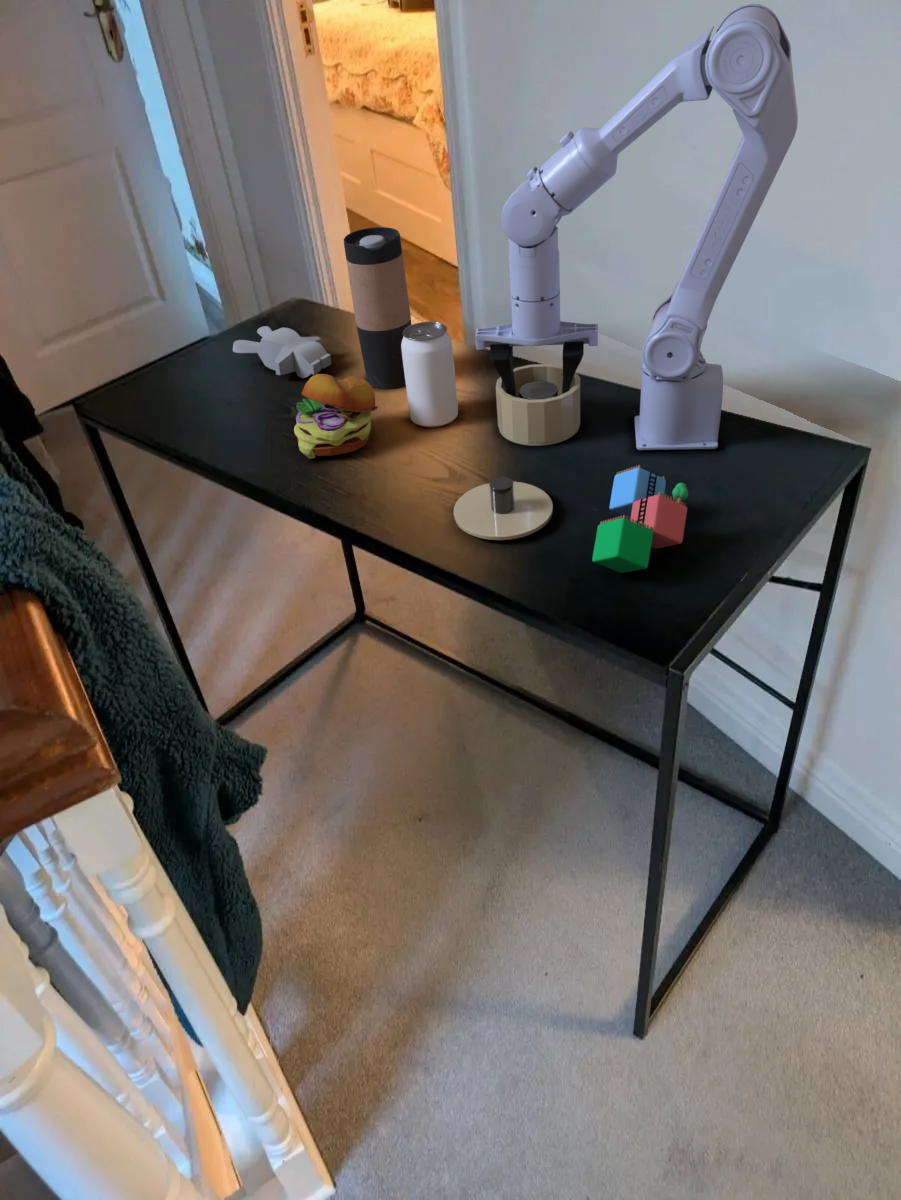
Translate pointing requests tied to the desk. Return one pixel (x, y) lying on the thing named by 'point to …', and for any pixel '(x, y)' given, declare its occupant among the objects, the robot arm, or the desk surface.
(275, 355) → the bunny figurine
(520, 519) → the pot lid
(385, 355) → the travel mug
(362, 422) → the cheeseburger
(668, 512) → the building blocks
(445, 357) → the can
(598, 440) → the desk surface
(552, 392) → the tin
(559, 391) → the beige hollow cylinder
